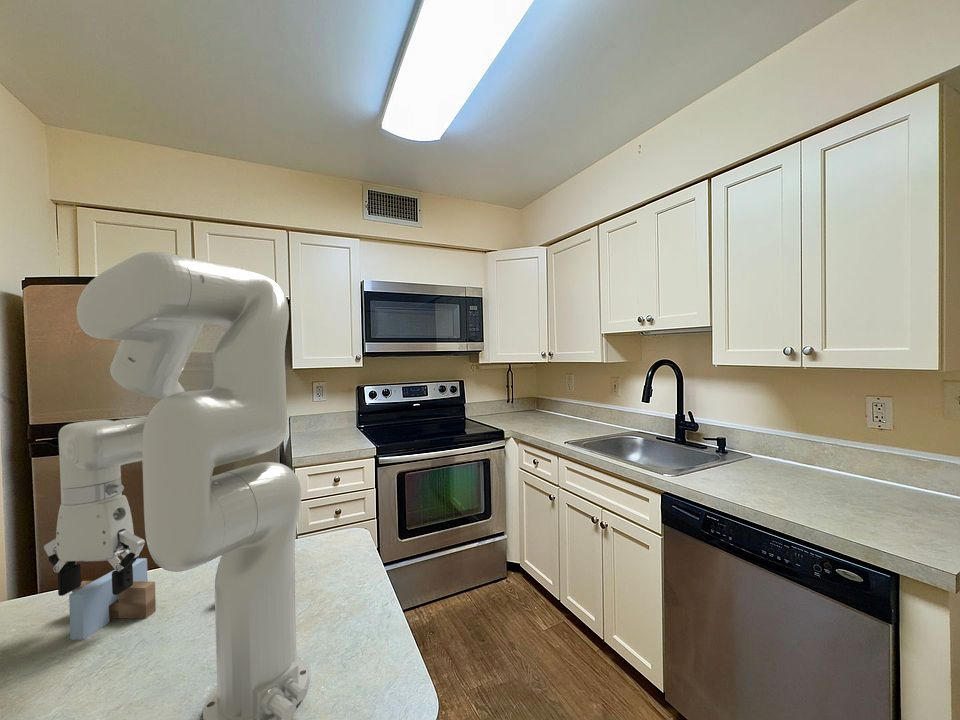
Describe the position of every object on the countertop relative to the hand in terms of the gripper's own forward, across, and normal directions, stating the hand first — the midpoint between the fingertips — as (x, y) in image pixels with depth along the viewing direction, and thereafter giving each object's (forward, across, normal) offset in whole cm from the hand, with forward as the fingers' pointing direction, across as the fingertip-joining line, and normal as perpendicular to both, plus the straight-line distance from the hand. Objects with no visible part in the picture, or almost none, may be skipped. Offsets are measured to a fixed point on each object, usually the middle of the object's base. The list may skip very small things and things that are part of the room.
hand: (96, 590), depth 69 cm
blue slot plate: (+6, +1, -3) cm, 7 cm away
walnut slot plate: (+6, +1, -4) cm, 8 cm away
